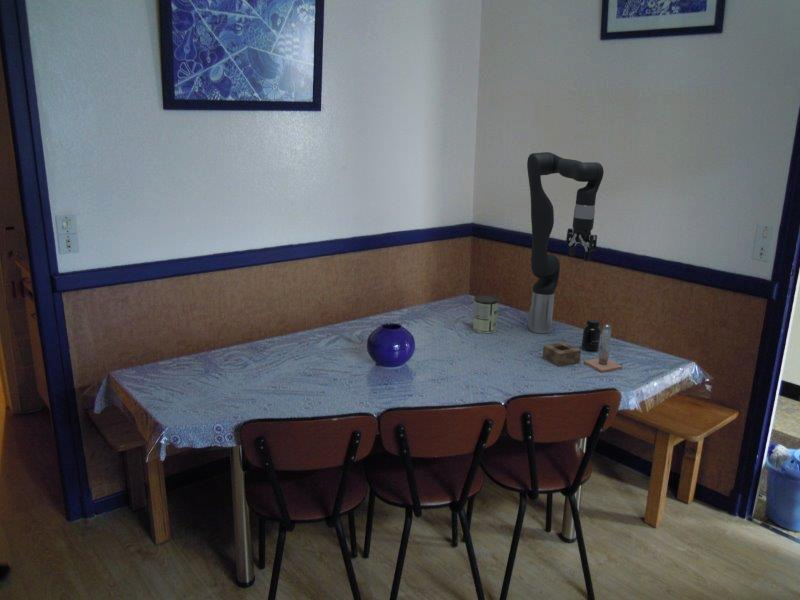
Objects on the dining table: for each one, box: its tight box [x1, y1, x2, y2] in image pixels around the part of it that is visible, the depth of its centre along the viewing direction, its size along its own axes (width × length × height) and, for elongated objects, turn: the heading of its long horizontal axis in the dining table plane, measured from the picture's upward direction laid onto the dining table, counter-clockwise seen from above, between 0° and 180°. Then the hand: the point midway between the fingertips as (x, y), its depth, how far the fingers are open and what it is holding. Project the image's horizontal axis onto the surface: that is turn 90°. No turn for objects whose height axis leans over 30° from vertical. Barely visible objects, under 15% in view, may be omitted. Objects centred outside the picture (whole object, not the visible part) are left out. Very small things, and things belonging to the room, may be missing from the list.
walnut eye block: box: [542, 341, 582, 367], centre depth 265 cm, size 10×10×5 cm
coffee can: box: [472, 294, 500, 334], centre depth 295 cm, size 10×10×14 cm
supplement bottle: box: [581, 318, 602, 353], centre depth 276 cm, size 7×7×12 cm
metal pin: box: [598, 323, 612, 365], centre depth 259 cm, size 3×3×16 cm
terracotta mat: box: [583, 357, 623, 374], centre depth 261 cm, size 10×10×1 cm
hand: (579, 258), depth 263 cm, fingers open, 8 cm apart
